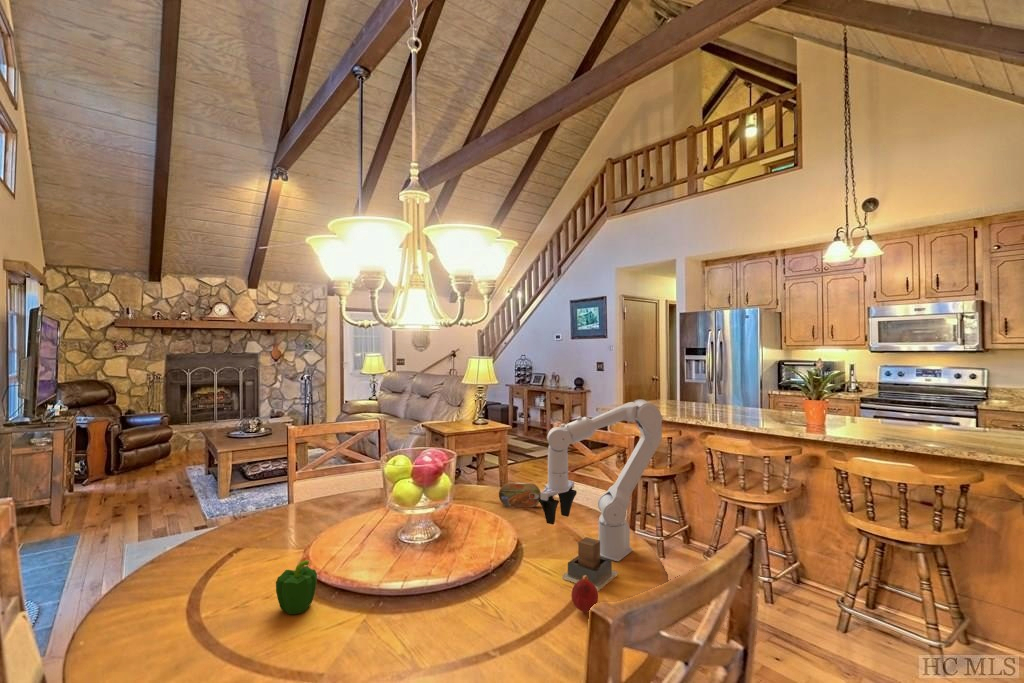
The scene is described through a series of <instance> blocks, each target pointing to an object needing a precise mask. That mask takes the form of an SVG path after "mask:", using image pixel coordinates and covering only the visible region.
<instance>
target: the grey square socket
mask: <svg viewBox="0 0 1024 683" xmlns="http://www.w3.org/2000/svg"><path fill="white" fill-rule="evenodd" d="M561 575H562V578H561V579H562V580H564V579H565V581H567V582H570V581H571V582H570V583H573V582H574V583H573V584H576V583H577V582H578V581H580V580H582V578H583V576H584V575H586V576H587V577H588V580H589V581H591V582H592V583H593V584H594V586H595V587H596V589H597V592H599V591H601V590H602V589H603V588H604V587H606V586H607V585H609V583H610V582H611V581H613V580H614V579H615V578H616V577H617V576H618V571H616V570H613V560H611V559H607V558H604V557H601V556H600V566H598V567H597V568H596V569H593V568H590V567H587V566H584V565H580V564H578V555H577V556H575V557H574V558H572V559H571V560H570V561H568V562H567V571H566V572H565V573H563V574H561ZM614 577H615V578H614ZM613 578H614V579H613ZM612 579H613V580H612ZM606 584H607V585H606ZM600 589H601V590H600Z"/></svg>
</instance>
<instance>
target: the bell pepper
mask: <svg viewBox="0 0 1024 683" xmlns="http://www.w3.org/2000/svg"><path fill="white" fill-rule="evenodd" d="M309 563H310V561H309V560H308V559H307V560H306V559H305V560H302V561H301V562H299V564H297V565H296V568H295V570H293V569H285V570H284V571H283V572H282V574H280V575H279V576H277V578H276V581H275V593H276V597H277V601H278V604H279V608H280V610H282V612H285V613H287V614H289V615H292V616H293V615H299V614H301V613H305V611H306V610H307V609H308V608H309V606H311V604H312V603H313V601H314V597H315V593H316V589H317V585H318V584H317V583H318V573H317V571H316V569H312V568H310V567H309Z"/></svg>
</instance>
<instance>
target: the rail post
mask: <svg viewBox="0 0 1024 683" xmlns="http://www.w3.org/2000/svg"><path fill="white" fill-rule="evenodd" d="M577 542H578V545H577V546H578V549H577V550H578V553H577V554H578V555H577V556H578V564H580V565H584V566H587V567H590V568H593V569H596V568H597V567H598V566H600V557H601V556H600V541H599V539H596V538H593V537H588V536H585V537H584V538H582V539H581V540H579V541H577Z"/></svg>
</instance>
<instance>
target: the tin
mask: <svg viewBox="0 0 1024 683" xmlns="http://www.w3.org/2000/svg"><path fill="white" fill-rule="evenodd" d="M541 492H542V491H541V490H540V488H539V487H538V486H537V485H536V484H535V483H531V482H512V481H511V482H507V483H504V484H503V485H502V486H501V487H500V489H499V491H498V499H499V502H501V504H503V505H504V506H506V507H509V508H522V509H523V508H524V509H525V508H526V509H527V508H530V509H532V508H535V507H536V506H538V504H540V502H539V497H540V496H541Z"/></svg>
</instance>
